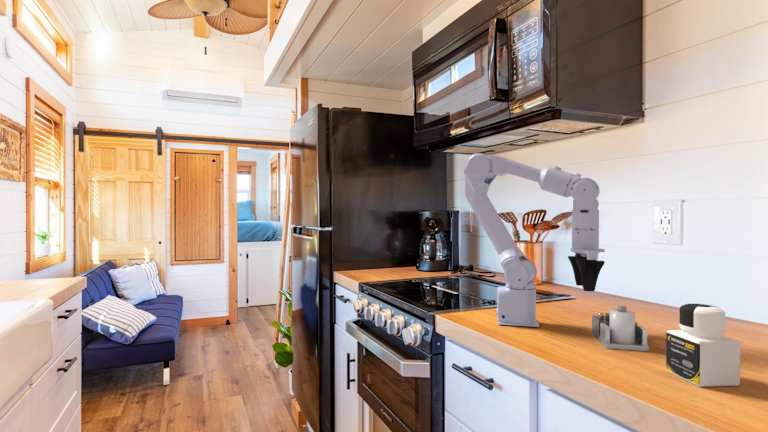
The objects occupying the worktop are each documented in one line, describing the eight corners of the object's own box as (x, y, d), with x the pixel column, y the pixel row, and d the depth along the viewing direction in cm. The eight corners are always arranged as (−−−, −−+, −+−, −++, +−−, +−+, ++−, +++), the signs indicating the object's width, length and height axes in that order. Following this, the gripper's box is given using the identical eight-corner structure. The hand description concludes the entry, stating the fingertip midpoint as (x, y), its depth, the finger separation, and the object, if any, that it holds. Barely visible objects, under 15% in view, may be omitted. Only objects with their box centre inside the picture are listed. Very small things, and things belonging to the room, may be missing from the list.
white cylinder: (613, 343, 86) (613, 308, 86) (606, 336, 91) (606, 303, 91) (638, 344, 85) (638, 309, 85) (630, 338, 90) (630, 304, 90)
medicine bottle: (665, 371, 74) (665, 301, 74) (703, 369, 74) (704, 301, 74) (699, 387, 66) (699, 310, 66) (741, 386, 67) (741, 310, 67)
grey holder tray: (606, 348, 86) (606, 322, 86) (592, 332, 98) (592, 309, 98) (648, 351, 84) (649, 325, 84) (628, 334, 96) (628, 311, 96)
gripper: (613, 231, 91) (613, 294, 91) (595, 229, 105) (595, 283, 105) (577, 230, 93) (577, 292, 93) (565, 228, 107) (565, 282, 107)
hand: (585, 288), depth 99 cm, fingers open, 7 cm apart
